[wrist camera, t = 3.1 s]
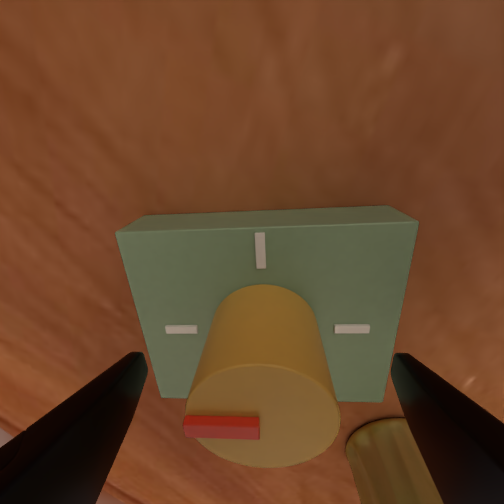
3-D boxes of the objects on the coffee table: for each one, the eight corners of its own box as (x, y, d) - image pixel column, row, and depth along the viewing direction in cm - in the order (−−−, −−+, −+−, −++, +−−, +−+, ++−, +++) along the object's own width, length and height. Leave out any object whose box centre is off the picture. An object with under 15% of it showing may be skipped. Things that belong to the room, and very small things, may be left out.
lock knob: (319, 282, 10) (351, 376, 6) (315, 367, 12) (337, 483, 8) (207, 284, 10) (167, 374, 6) (218, 366, 12) (193, 476, 8)
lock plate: (389, 204, 11) (423, 222, 9) (365, 361, 15) (384, 406, 12) (143, 214, 12) (111, 233, 10) (176, 360, 15) (159, 401, 13)
